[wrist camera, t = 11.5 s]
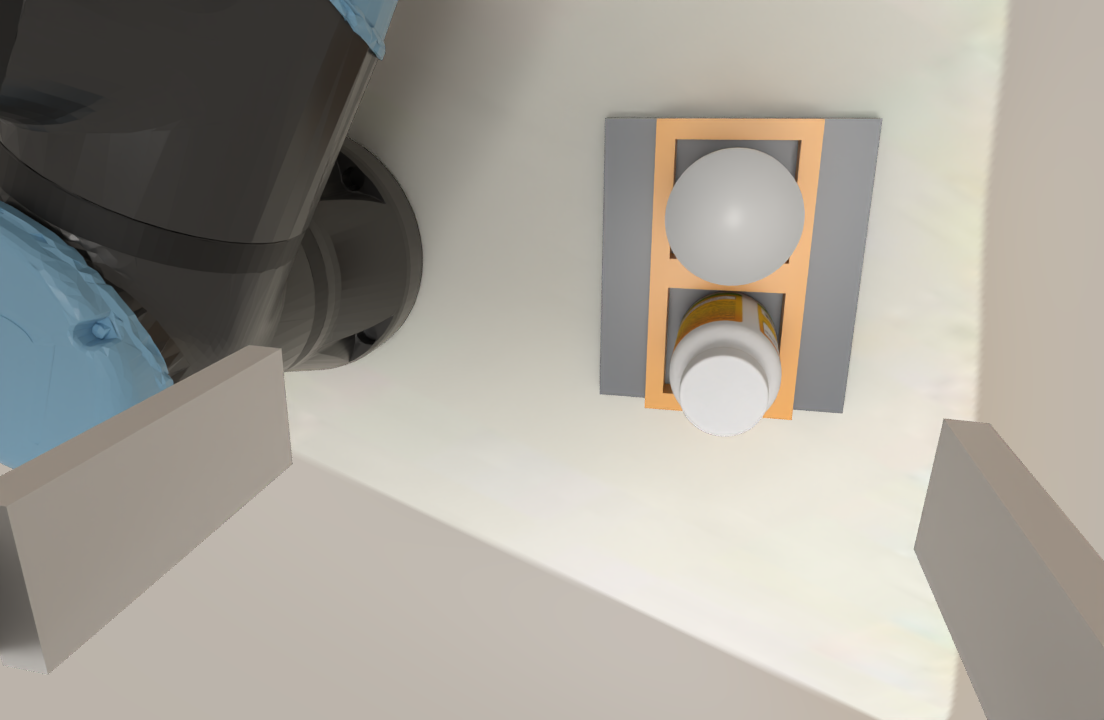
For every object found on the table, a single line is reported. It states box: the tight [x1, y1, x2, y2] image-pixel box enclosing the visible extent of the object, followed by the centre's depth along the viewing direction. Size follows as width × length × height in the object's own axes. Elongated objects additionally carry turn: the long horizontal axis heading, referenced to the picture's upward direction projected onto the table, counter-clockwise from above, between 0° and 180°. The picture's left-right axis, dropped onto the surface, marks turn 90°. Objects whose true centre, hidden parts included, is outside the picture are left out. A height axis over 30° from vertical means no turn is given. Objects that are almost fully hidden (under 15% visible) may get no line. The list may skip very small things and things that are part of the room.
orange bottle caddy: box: [600, 118, 882, 420], centre depth 38 cm, size 14×16×9 cm
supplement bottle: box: [669, 292, 782, 436], centre depth 38 cm, size 5×5×10 cm
